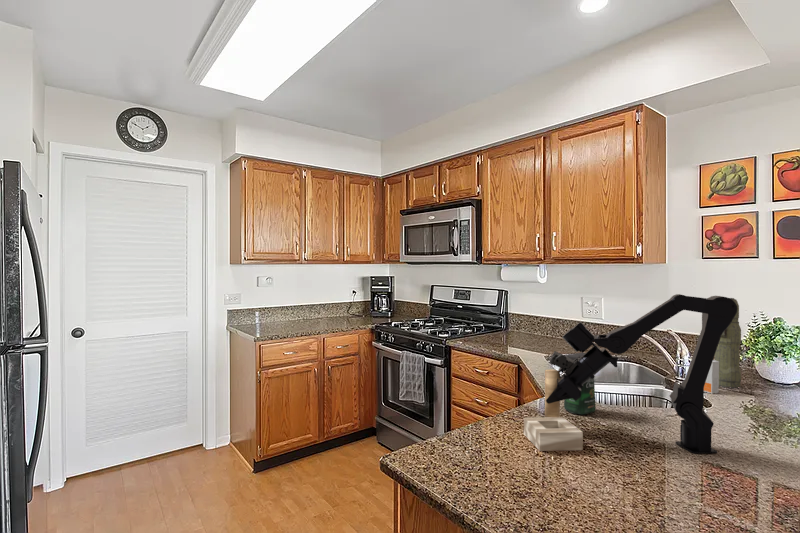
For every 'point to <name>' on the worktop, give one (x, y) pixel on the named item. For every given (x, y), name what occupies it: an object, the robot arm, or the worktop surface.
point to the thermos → (730, 354)
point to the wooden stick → (550, 386)
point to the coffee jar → (582, 395)
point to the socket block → (553, 434)
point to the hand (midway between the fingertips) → (547, 400)
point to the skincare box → (712, 379)
